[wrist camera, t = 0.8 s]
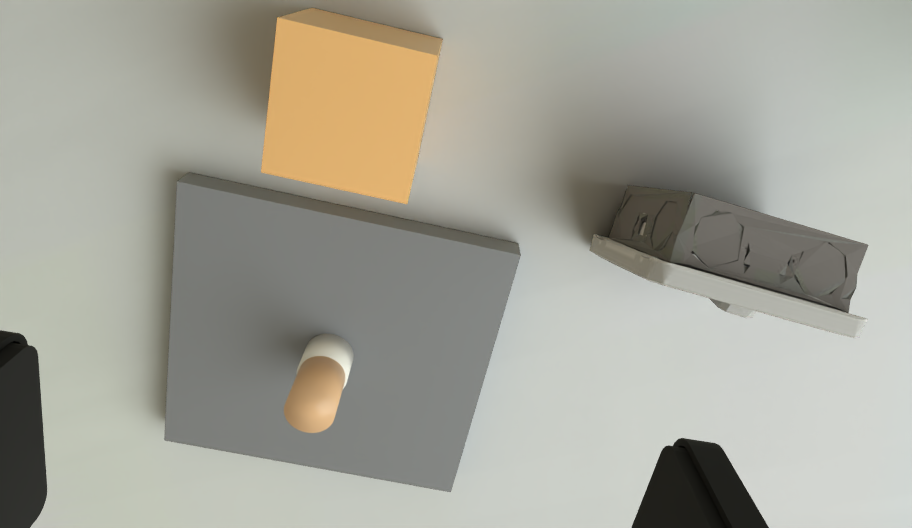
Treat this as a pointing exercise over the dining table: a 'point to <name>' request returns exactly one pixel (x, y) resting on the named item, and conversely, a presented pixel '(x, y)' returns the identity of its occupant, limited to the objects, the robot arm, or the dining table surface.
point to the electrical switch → (736, 258)
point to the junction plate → (328, 332)
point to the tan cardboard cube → (348, 103)
